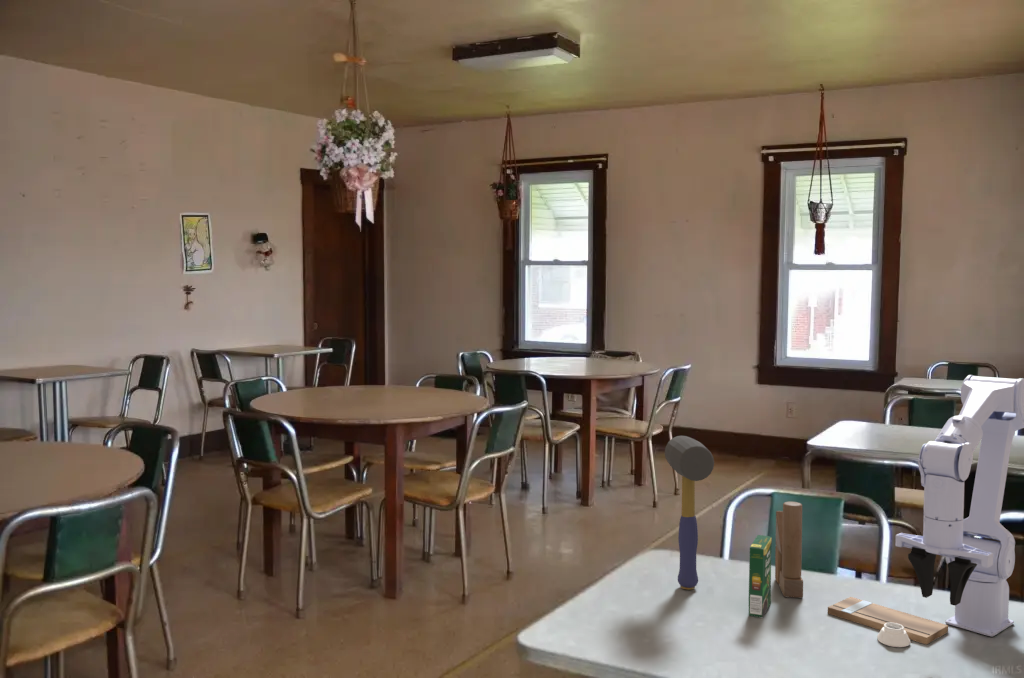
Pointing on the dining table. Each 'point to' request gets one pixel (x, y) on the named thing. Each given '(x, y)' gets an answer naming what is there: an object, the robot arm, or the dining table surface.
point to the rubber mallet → (688, 499)
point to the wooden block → (789, 549)
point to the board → (888, 619)
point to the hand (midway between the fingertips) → (941, 599)
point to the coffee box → (760, 576)
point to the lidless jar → (893, 635)
